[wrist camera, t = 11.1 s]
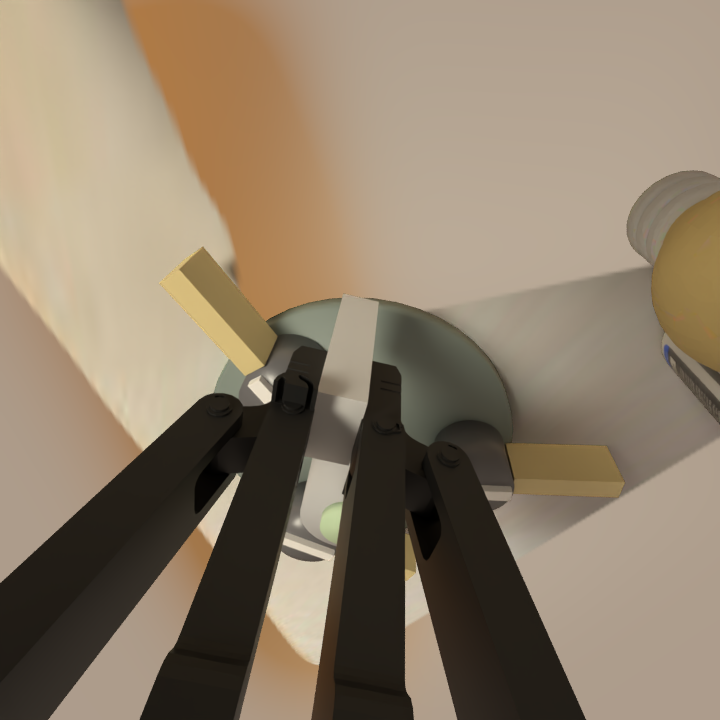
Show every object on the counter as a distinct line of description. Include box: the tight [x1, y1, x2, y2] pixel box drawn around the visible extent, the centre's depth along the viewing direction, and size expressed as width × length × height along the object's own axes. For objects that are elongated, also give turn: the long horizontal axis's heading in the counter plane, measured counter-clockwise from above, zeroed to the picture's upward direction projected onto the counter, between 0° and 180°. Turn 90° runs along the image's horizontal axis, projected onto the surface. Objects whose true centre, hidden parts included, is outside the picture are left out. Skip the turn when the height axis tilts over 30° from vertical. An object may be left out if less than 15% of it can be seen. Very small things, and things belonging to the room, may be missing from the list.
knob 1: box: [159, 247, 323, 406], centre depth 21 cm, size 10×4×4 cm, turn 33°
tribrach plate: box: [214, 298, 513, 546], centre depth 25 cm, size 18×18×7 cm
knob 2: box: [281, 481, 416, 581], centre depth 29 cm, size 10×4×4 cm, turn 63°
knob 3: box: [435, 420, 625, 510], centre depth 25 cm, size 10×4×4 cm, turn 93°
